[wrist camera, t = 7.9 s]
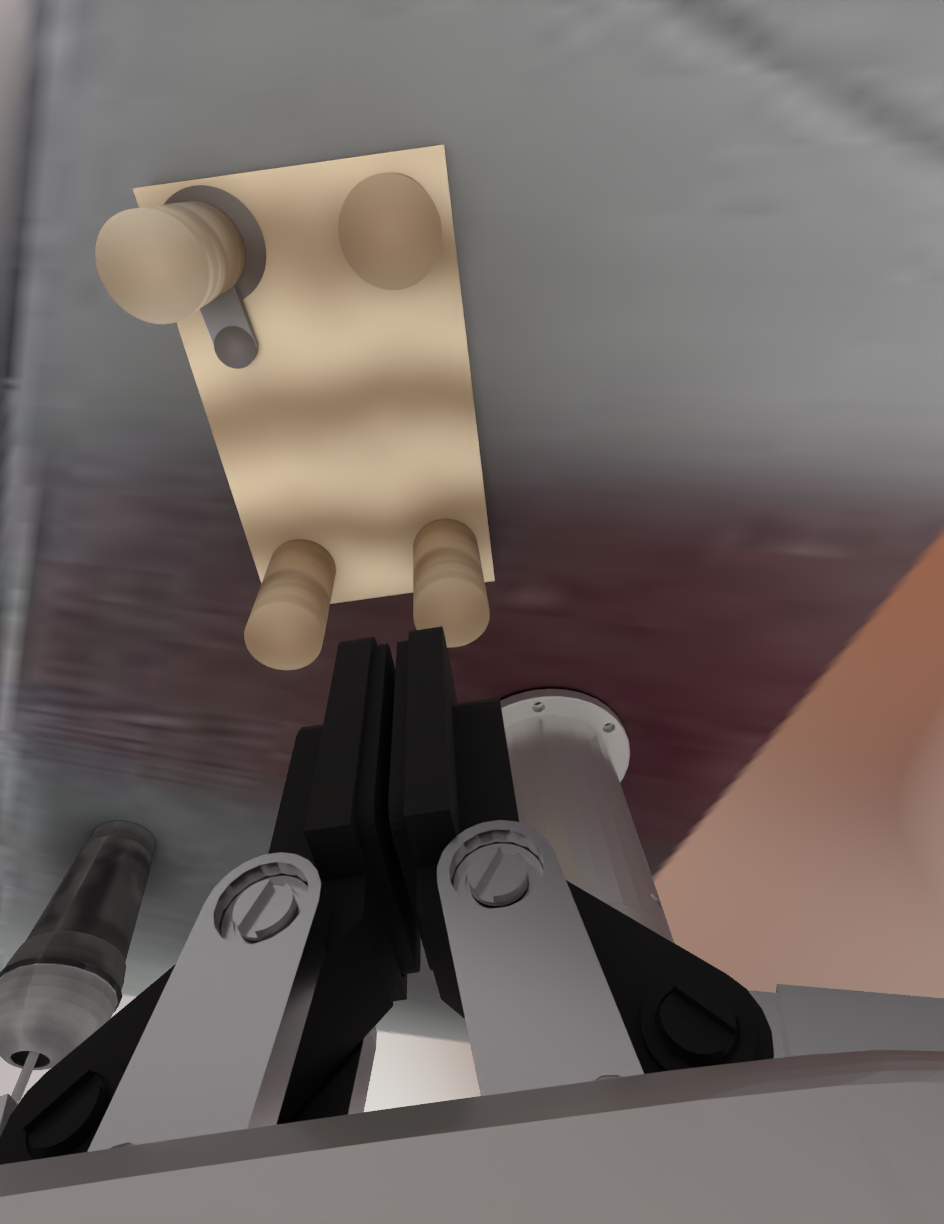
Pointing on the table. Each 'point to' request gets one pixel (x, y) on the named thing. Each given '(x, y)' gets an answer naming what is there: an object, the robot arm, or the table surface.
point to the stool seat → (347, 397)
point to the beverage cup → (75, 953)
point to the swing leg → (180, 271)
